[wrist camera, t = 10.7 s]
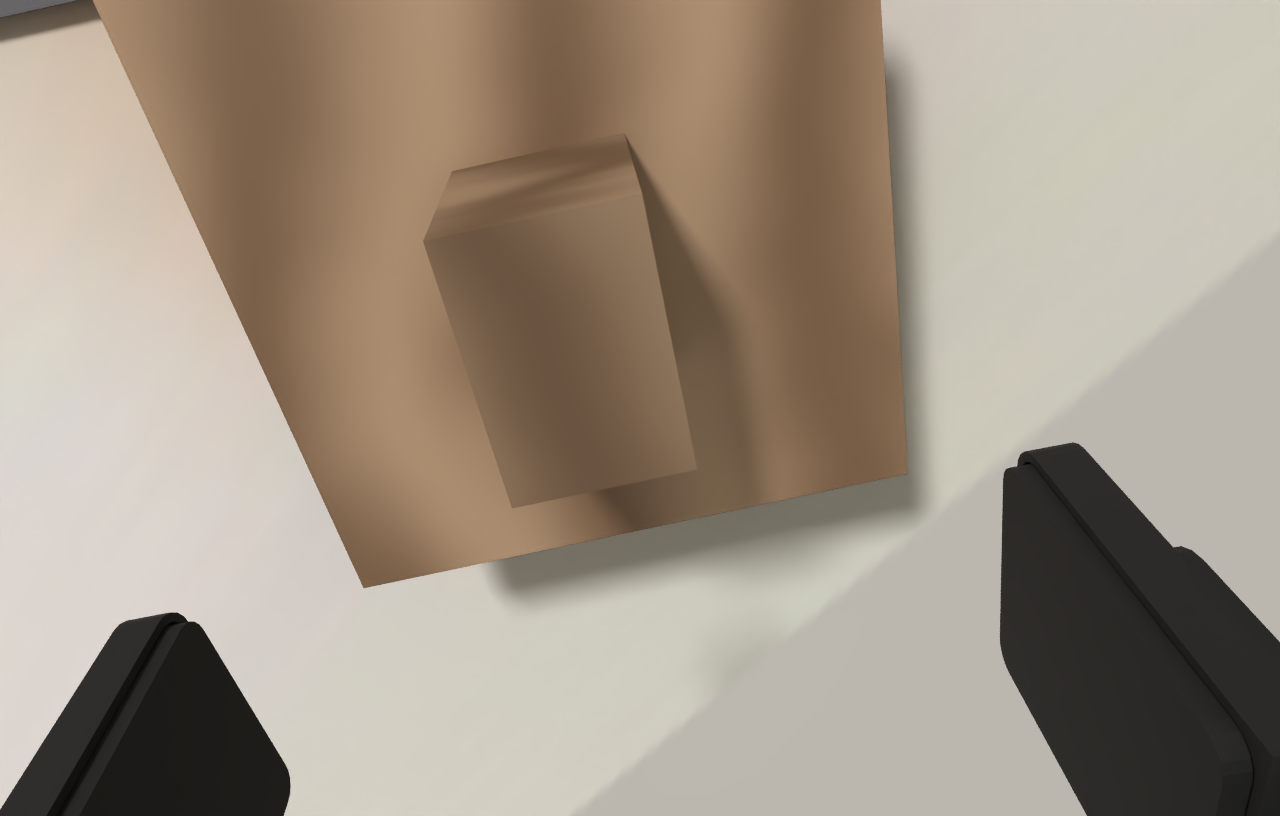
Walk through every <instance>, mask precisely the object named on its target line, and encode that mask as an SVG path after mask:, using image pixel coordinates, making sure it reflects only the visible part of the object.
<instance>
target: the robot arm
mask: <svg viewBox="0 0 1280 816" xmlns="http://www.w3.org/2000/svg"><path fill="white" fill-rule="evenodd" d="M1002 519H1003V520H1002V564H1001V567H1002V568H1001V614H1000V645H1001V650H1002V655H1003V658H1004V661H1005V664H1006V667H1007V669H1008V671H1009V673H1010V675H1011V677H1012V679H1013V681H1014V683H1015V684H1016V686H1017V688H1018V690H1019V692H1020V694H1021V695H1022V697H1023V699H1024V701H1025V703H1026V705H1027V706H1028V708H1029V710H1030V712H1031V714H1032V715H1033V717H1034V719H1035V721H1036V723H1037V725H1038V727H1039V728H1040V730H1041V732H1042V734H1043V736H1044V737H1045V739H1046V741H1047V743H1048V745H1049V747H1050V748H1051V750H1052V752H1053V754H1054V756H1055V758H1056V760H1057V761H1058V763H1059V765H1060V767H1061V769H1062V770H1063V772H1064V774H1065V776H1066V778H1067V779H1068V782H1069V783H1070V785H1071V787H1072V789H1073V791H1074V793H1075V794H1076V796H1077V798H1078V800H1079V802H1080V803H1081V805H1082V807H1083V809H1084V811H1085V813H1086V815H1087V816H1280V642H1279V641H1278V640H1277V639H1276V638H1275V637H1274V636H1273V634H1272V633H1271V632H1270V631H1269V630H1268V629H1267V628H1266V627H1265V626H1264V625H1263V624H1262V622H1261V621H1260V620H1259V619H1258V618H1257V617H1256V616H1255V615H1254V614H1253V613H1252V612H1251V611H1250V610H1249V608H1248V607H1247V606H1246V605H1245V604H1244V603H1243V602H1242V601H1241V600H1240V599H1239V598H1238V597H1237V596H1236V594H1235V593H1234V592H1233V591H1232V590H1231V589H1230V588H1229V587H1228V586H1227V585H1226V584H1225V583H1224V582H1223V580H1222V579H1221V578H1220V577H1219V576H1218V575H1217V574H1216V573H1215V572H1214V571H1213V570H1212V569H1211V568H1210V566H1209V565H1208V564H1207V563H1206V562H1205V561H1204V560H1203V559H1202V558H1200V557H1199V556H1198V555H1197V554H1196V553H1194V552H1193V551H1192V550H1189V549H1187V548H1184V547H1182V546H1180V547H1174V548H1173V547H1172V546H1171V544H1170V543H1169V542H1168V541H1167V540H1166V539H1165V538H1164V537H1163V536H1162V534H1161V533H1160V532H1159V531H1158V530H1157V529H1156V528H1155V527H1154V526H1153V525H1152V523H1151V522H1150V521H1149V520H1148V519H1147V518H1146V517H1145V516H1144V514H1143V513H1142V512H1141V511H1140V510H1139V509H1138V508H1137V507H1136V506H1135V505H1134V503H1133V502H1132V501H1131V500H1130V499H1129V498H1128V497H1127V496H1126V495H1125V493H1124V492H1123V491H1122V490H1121V489H1120V488H1119V487H1118V486H1117V485H1116V483H1115V482H1114V481H1113V480H1112V479H1111V478H1110V477H1109V476H1108V475H1107V473H1106V472H1105V471H1104V470H1103V469H1102V468H1101V467H1100V466H1099V465H1098V463H1096V461H1095V460H1094V459H1093V458H1092V457H1091V456H1090V455H1089V453H1088V452H1087V451H1086V450H1085V449H1084V448H1083V447H1081V446H1080V445H1079V444H1077V443H1068V444H1063V445H1058V446H1052V447H1047V448H1042V449H1036V450H1031V451H1025V452H1023V453H1022V454H1020V457H1019V459H1018V465H1017V467H1012V468H1008V469H1006V470H1005V472H1004V478H1003V515H1002ZM289 796H290V776H289V772H288V769H287V767H286V765H285V763H284V762H283V760H282V758H281V757H280V755H279V753H278V752H277V750H276V748H275V747H274V745H273V743H272V742H271V740H270V739H269V737H268V735H267V734H266V732H265V730H264V729H263V727H262V725H261V724H260V722H259V720H258V719H257V717H256V715H255V714H254V712H253V710H252V709H251V707H250V706H249V704H248V702H247V701H246V699H245V697H244V696H243V694H242V692H241V691H240V689H239V687H238V686H237V684H236V682H235V681H234V679H233V678H232V676H231V674H230V673H229V671H228V669H227V668H226V666H225V664H224V663H223V661H222V659H221V658H220V656H219V654H218V653H217V651H216V650H215V648H214V646H213V645H212V643H211V641H210V640H209V638H208V636H207V635H206V633H205V631H204V630H203V629H202V627H201V626H200V625H199V624H197V623H196V622H188V621H187V620H186V618H185V617H184V616H182V615H180V614H179V613H165V614H160V615H155V616H150V617H144V618H139V619H134V620H128V621H125V622H123V623H121V624H120V625H119V626H118V627H117V628H116V629H115V630H114V631H113V633H112V635H111V636H110V638H109V639H108V641H107V642H106V644H105V646H104V647H103V649H102V650H101V652H100V653H99V655H98V657H97V658H96V660H95V661H94V663H93V664H92V666H91V668H90V669H89V671H88V672H87V674H86V675H85V677H84V679H83V680H82V682H81V683H80V685H79V687H78V688H77V690H76V691H75V693H74V694H73V696H72V698H71V699H70V701H69V702H68V704H67V705H66V707H65V709H64V710H63V712H62V713H61V715H60V716H59V718H58V720H57V721H56V723H55V724H54V726H53V727H52V729H51V731H50V732H49V734H48V735H47V737H46V738H45V740H44V742H43V743H42V745H41V746H40V748H39V750H38V751H37V753H36V754H35V756H34V757H33V759H32V761H31V762H30V764H29V765H28V767H27V768H26V770H25V772H24V773H23V775H22V776H21V778H20V779H19V781H18V783H17V784H16V786H15V787H14V789H13V790H12V792H11V794H10V795H9V797H8V798H7V800H6V802H5V803H4V805H3V806H2V808H1V809H0V816H284V813H285V810H286V807H287V804H288V800H289Z"/></svg>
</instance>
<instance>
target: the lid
mask: <svg viewBox="0 0 1280 816" xmlns="http://www.w3.org/2000/svg"><path fill="white" fill-rule="evenodd" d="M93 2H94V4H95V7H96V9H97V11H98V13H99V15H100V17H101V20H102V22H103V24H104V26H105V28H106V30H107V33H108V35H109V37H110V39H111V41H112V43H113V46H114V48H115V50H116V52H117V54H118V56H119V59H120V61H121V63H122V65H123V67H124V69H125V72H126V74H127V76H128V78H129V80H130V82H131V85H132V87H133V89H134V91H135V93H136V96H137V98H138V100H139V102H140V104H141V106H142V109H143V111H144V113H145V115H146V117H147V119H148V122H149V124H150V126H151V128H152V130H153V132H154V135H155V137H156V139H157V141H158V143H159V145H160V148H161V150H162V152H163V154H164V156H165V158H166V161H167V163H168V165H169V167H170V169H171V171H172V174H173V176H174V178H175V180H176V182H177V184H178V187H179V189H180V191H181V193H182V195H183V197H184V200H185V202H186V204H187V206H188V208H189V210H190V213H191V215H192V217H193V219H194V221H195V223H196V226H197V228H198V230H199V232H200V234H201V236H202V239H203V241H204V243H205V245H206V247H207V249H208V252H209V254H210V256H211V258H212V260H213V262H214V265H215V267H216V269H217V271H218V273H219V275H220V278H221V280H222V282H223V284H224V286H225V288H226V291H227V293H228V295H229V297H230V299H231V301H232V304H233V306H234V308H235V310H236V312H237V314H238V317H239V319H240V321H241V323H242V325H243V327H244V330H245V332H246V334H247V336H248V338H249V340H250V343H251V345H252V347H253V349H254V351H255V353H256V356H257V358H258V360H259V362H260V364H261V366H262V369H263V371H264V373H265V375H266V377H267V379H268V382H269V384H270V386H271V388H272V390H273V392H274V395H275V397H276V399H277V401H278V403H279V405H280V408H281V410H282V412H283V414H284V416H285V418H286V421H287V423H288V425H289V427H290V429H291V431H292V434H293V436H294V438H295V440H296V442H297V444H298V447H299V449H300V451H301V453H302V455H303V457H304V460H305V462H306V464H307V466H308V468H309V470H310V473H311V475H312V477H313V479H314V481H315V483H316V486H317V488H318V490H319V492H320V494H321V496H322V499H323V501H324V503H325V505H326V507H327V509H328V512H329V514H330V516H331V518H332V520H333V522H334V525H335V527H336V529H337V531H338V533H339V536H340V538H341V540H342V542H343V544H344V546H345V549H346V551H347V553H348V555H349V557H350V559H351V562H352V564H353V566H354V568H355V570H356V572H357V575H358V577H359V579H360V581H361V583H362V585H363V588H367V587H371V586H376V585H381V584H386V583H391V582H395V581H400V580H405V579H410V578H414V577H419V576H424V575H429V574H433V573H438V572H443V571H448V570H452V569H457V568H462V567H467V566H471V565H476V564H481V563H486V562H490V561H495V560H500V559H505V558H509V557H514V556H519V555H524V554H528V553H533V552H538V551H543V550H547V549H552V548H557V547H562V546H566V545H571V544H576V543H581V542H586V541H590V540H595V539H600V538H605V537H609V536H614V535H619V534H624V533H628V532H633V531H638V530H643V529H647V528H652V527H657V526H662V525H666V524H671V523H676V522H681V521H685V520H690V519H695V518H700V517H704V516H709V515H714V514H719V513H723V512H728V511H733V510H738V509H742V508H747V507H752V506H757V505H761V504H766V503H771V502H776V501H781V500H785V499H790V498H795V497H800V496H804V495H809V494H814V493H819V492H823V491H828V490H833V489H838V488H842V487H847V486H852V485H857V484H861V483H866V482H871V481H876V480H880V479H885V478H890V477H895V476H899V475H904V474H908V468H907V450H906V433H905V416H904V398H903V381H902V364H901V346H900V329H899V312H898V294H897V277H896V260H895V242H894V225H893V208H892V190H891V173H890V156H889V138H888V121H887V104H886V86H885V69H884V52H883V35H882V17H881V0H93Z"/></svg>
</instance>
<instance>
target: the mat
mask: <svg viewBox="0 0 1280 816" xmlns="http://www.w3.org/2000/svg"><path fill="white" fill-rule="evenodd" d="M73 1H78V0H0V18H2V17H6V16H11V15H15V14H19V13H24V12H28V11H33V10H37V9H42V8H46V7H51V6H55V5H60V4H64V3H69V2H73Z"/></svg>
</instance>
